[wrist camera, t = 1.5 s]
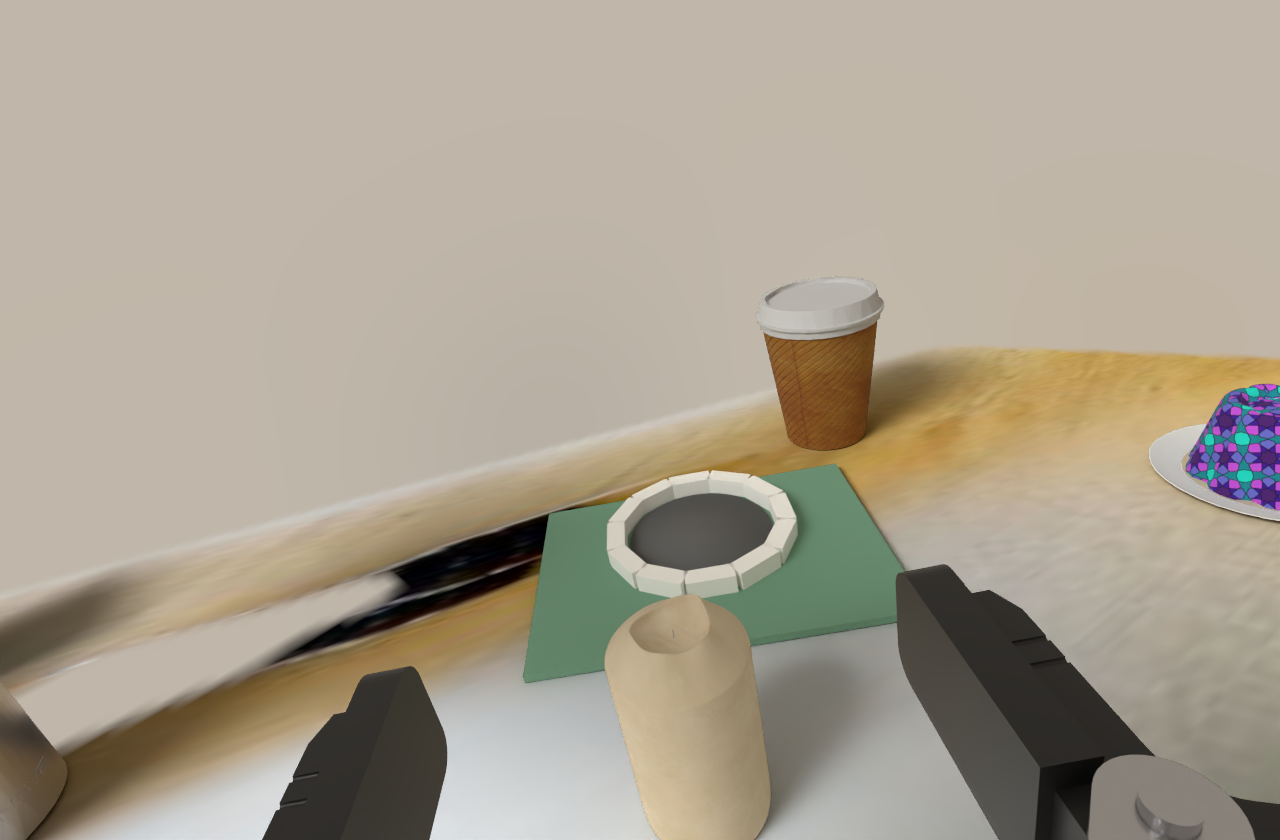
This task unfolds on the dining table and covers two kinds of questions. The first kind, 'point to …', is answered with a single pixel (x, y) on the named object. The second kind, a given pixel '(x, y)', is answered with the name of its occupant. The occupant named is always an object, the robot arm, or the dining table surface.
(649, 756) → the candle
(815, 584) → the putting green
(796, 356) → the disposable coffee cup
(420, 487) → the dining table surface
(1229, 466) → the pudding
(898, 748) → the dining table surface
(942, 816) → the dining table surface
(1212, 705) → the dining table surface
